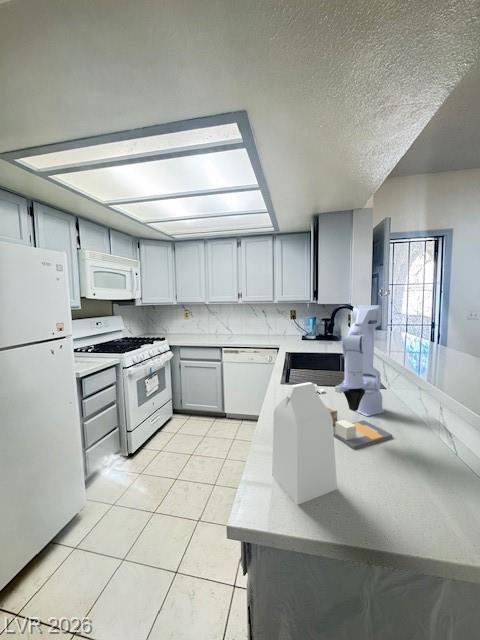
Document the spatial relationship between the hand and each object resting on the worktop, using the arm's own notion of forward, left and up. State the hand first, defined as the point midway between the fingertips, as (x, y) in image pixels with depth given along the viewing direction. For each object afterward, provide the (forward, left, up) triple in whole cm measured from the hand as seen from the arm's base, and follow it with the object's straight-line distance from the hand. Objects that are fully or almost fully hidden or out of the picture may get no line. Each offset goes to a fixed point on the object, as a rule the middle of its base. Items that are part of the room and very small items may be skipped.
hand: (353, 409), depth 91 cm
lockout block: (0, -12, -10) cm, 15 cm away
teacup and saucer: (-15, -39, -10) cm, 43 cm away
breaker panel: (-2, 0, -9) cm, 10 cm away
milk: (+29, +12, -10) cm, 33 cm away
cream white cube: (+4, 0, -8) cm, 9 cm away
